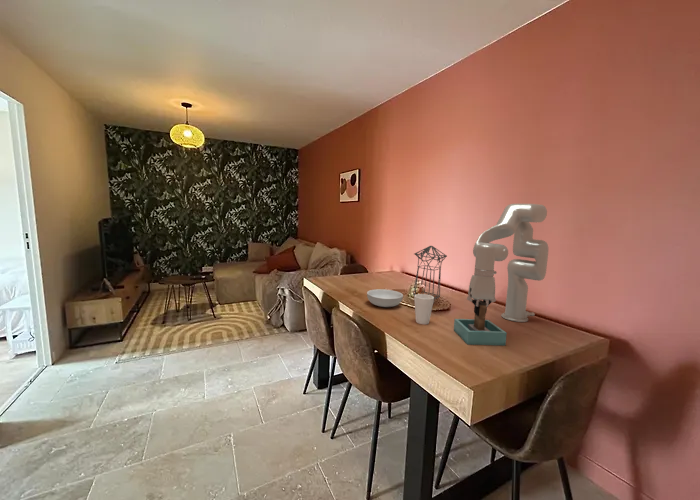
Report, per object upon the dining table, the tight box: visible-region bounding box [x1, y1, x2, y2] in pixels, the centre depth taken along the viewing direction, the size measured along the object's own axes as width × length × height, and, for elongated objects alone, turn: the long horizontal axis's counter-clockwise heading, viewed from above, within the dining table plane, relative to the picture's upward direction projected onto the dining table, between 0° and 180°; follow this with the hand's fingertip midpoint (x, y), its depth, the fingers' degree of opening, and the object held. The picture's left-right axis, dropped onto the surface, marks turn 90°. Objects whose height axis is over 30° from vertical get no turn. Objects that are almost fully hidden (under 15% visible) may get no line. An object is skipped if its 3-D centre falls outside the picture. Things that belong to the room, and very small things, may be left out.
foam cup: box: [413, 293, 435, 325], centre depth 155 cm, size 10×9×13 cm
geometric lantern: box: [412, 245, 448, 301], centre depth 189 cm, size 16×16×35 cm
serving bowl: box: [366, 288, 404, 308], centre depth 182 cm, size 21×21×7 cm
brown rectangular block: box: [474, 300, 487, 330], centre depth 137 cm, size 2×5×12 cm, turn 1°
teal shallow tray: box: [453, 318, 508, 346], centre depth 138 cm, size 16×16×6 cm
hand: (479, 314), depth 137 cm, fingers closed on brown rectangular block, 2 cm apart
